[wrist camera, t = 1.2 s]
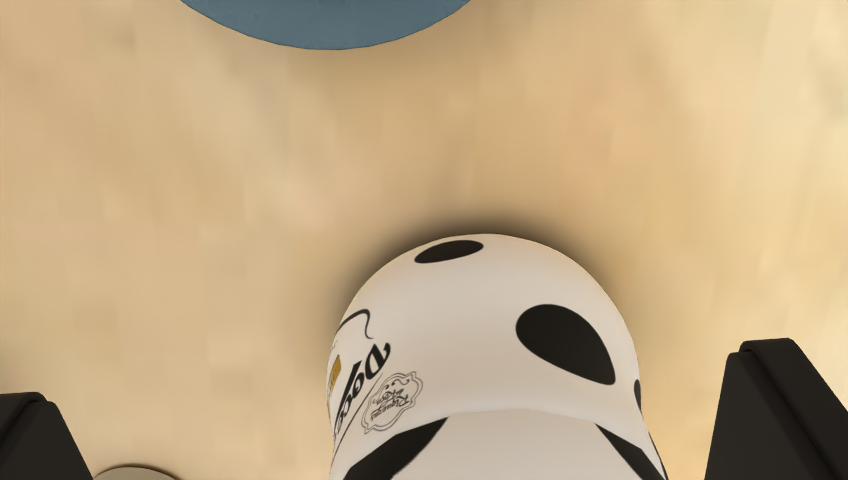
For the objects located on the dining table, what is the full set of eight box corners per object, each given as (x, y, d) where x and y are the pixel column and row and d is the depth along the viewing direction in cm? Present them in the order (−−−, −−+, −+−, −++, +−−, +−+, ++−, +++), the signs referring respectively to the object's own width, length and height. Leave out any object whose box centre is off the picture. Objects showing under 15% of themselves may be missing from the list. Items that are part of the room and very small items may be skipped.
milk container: (281, 285, 41) (196, 561, 25) (549, 159, 36) (645, 395, 21) (418, 461, 48) (418, 754, 33) (651, 373, 44) (776, 661, 29)
